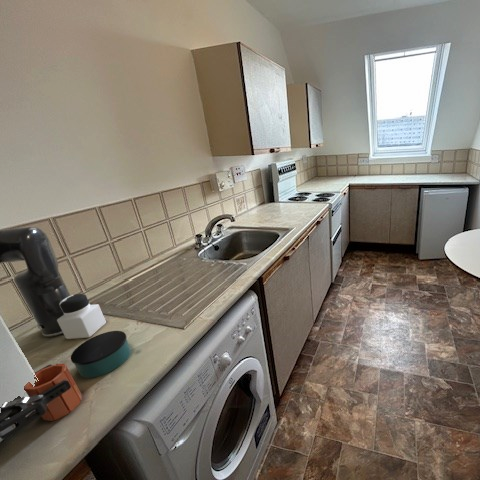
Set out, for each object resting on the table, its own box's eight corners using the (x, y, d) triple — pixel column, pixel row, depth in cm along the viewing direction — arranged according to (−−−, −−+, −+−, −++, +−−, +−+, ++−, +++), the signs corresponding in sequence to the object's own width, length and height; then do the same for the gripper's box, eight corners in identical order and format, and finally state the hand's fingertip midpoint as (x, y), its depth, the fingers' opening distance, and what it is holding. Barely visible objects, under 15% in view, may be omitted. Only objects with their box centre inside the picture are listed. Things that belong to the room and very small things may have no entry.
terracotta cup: (45, 405, 58) (27, 375, 55) (82, 388, 62) (66, 359, 59) (42, 426, 54) (21, 395, 51) (81, 407, 57) (64, 376, 54)
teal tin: (79, 359, 71) (71, 345, 69) (129, 338, 77) (123, 324, 76) (77, 387, 62) (69, 371, 61) (134, 361, 69) (128, 346, 67)
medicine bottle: (107, 322, 86) (93, 290, 81) (89, 337, 79) (73, 303, 75) (84, 324, 86) (70, 292, 81) (65, 339, 79) (48, 305, 75)
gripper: (-71, 456, 39) (67, 374, 52) (-83, 412, 46) (42, 350, 59) (-43, 486, 42) (82, 401, 55) (-58, 441, 49) (56, 375, 62)
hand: (61, 375), depth 57 cm, fingers open, 8 cm apart
